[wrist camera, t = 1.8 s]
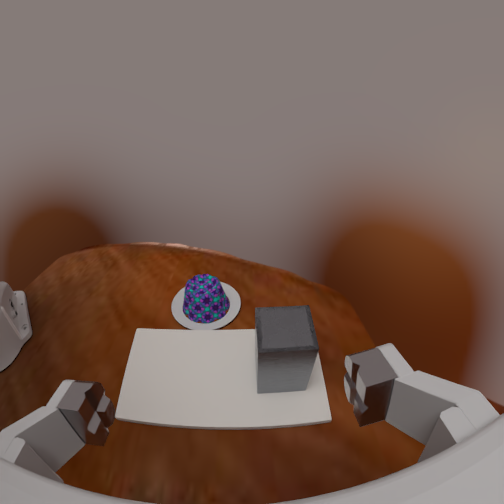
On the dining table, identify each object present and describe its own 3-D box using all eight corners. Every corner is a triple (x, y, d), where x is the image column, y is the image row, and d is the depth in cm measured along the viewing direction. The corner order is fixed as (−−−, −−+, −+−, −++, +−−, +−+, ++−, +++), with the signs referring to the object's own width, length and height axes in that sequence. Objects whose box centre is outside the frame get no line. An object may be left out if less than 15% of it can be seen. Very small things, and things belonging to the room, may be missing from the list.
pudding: (206, 346, 42) (201, 324, 39) (158, 308, 48) (152, 287, 45) (255, 303, 49) (255, 280, 46) (206, 275, 56) (203, 253, 52)
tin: (305, 390, 34) (318, 348, 28) (257, 393, 34) (257, 352, 28) (299, 352, 39) (308, 305, 33) (255, 354, 39) (255, 307, 33)
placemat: (117, 419, 30) (114, 417, 30) (138, 332, 43) (136, 328, 43) (329, 422, 31) (331, 419, 30) (311, 330, 44) (312, 326, 43)
